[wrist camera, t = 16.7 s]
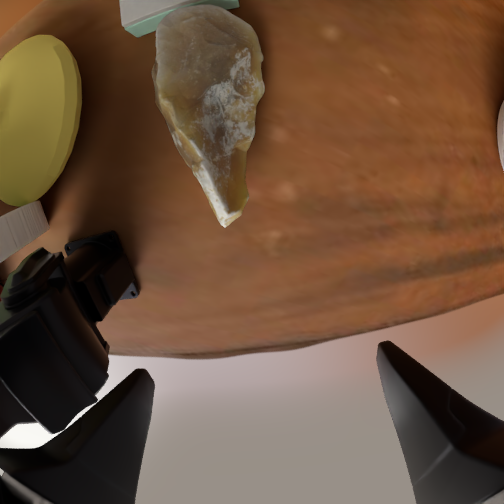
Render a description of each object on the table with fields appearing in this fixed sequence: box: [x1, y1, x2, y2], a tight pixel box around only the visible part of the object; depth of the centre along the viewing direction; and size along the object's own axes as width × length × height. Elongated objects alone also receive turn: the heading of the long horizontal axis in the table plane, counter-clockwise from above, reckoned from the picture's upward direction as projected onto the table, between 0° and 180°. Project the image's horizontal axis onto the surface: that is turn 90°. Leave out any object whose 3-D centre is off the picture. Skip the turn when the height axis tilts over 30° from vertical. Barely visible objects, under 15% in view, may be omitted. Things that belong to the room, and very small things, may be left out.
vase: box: [0, 35, 82, 207], centre depth 14 cm, size 16×16×7 cm
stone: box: [151, 5, 265, 227], centre depth 15 cm, size 7×6×15 cm
